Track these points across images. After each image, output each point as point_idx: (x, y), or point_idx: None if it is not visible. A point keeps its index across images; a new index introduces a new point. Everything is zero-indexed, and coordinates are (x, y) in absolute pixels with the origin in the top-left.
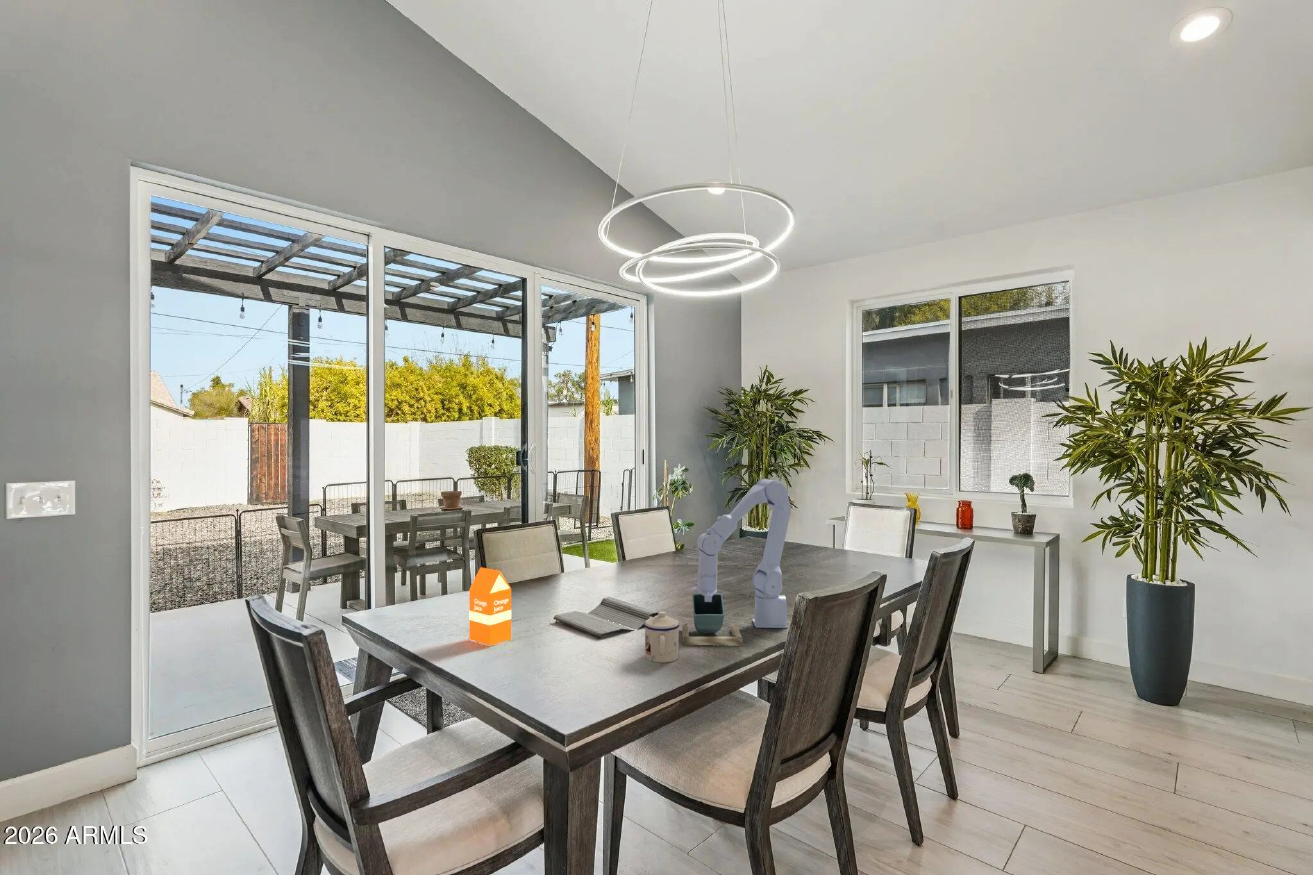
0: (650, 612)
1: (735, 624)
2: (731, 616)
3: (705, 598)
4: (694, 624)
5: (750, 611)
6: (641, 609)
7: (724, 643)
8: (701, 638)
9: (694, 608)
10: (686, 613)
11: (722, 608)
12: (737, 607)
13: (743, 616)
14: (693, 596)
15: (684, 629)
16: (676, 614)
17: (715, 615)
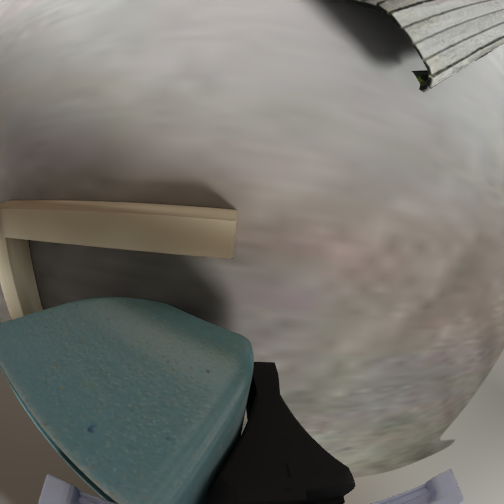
0: (415, 18)
1: None
2: (386, 415)
3: (43, 494)
4: (74, 301)
5: (401, 440)
6: (460, 4)
7: None
8: (2, 290)
9: (22, 377)
10: (483, 273)
11: (84, 479)
12: (445, 412)
13: (370, 436)
14: (111, 496)
15: (95, 223)
16: (488, 227)
17: (38, 425)
